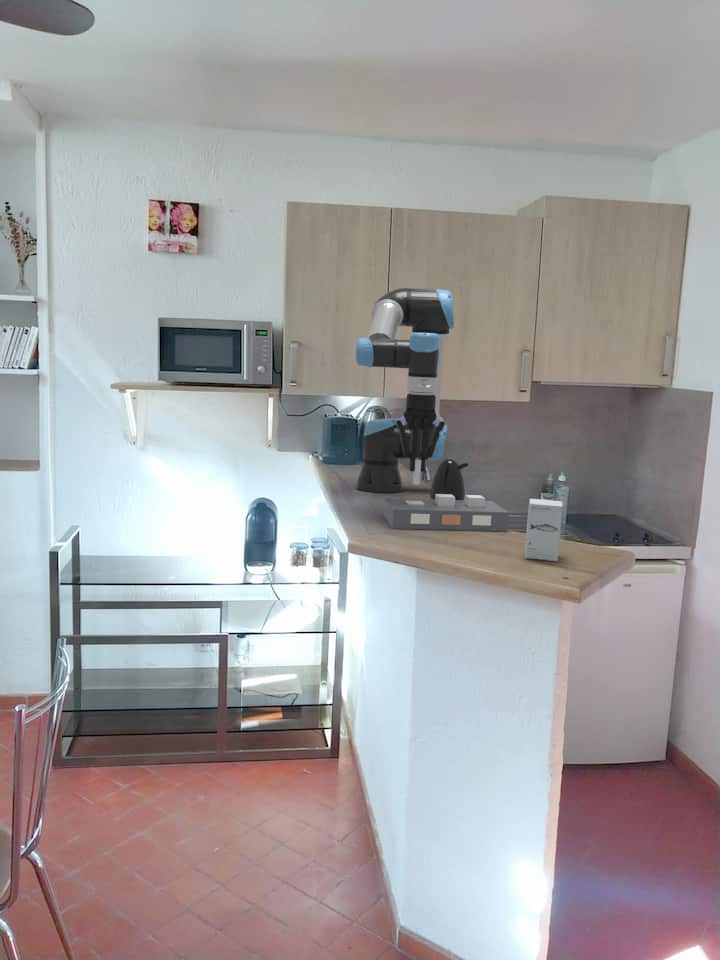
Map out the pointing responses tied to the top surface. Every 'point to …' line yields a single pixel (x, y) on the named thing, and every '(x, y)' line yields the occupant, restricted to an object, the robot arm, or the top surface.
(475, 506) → the button
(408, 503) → the button
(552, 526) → the supplement box
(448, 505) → the button
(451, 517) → the console
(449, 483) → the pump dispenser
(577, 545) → the top surface
